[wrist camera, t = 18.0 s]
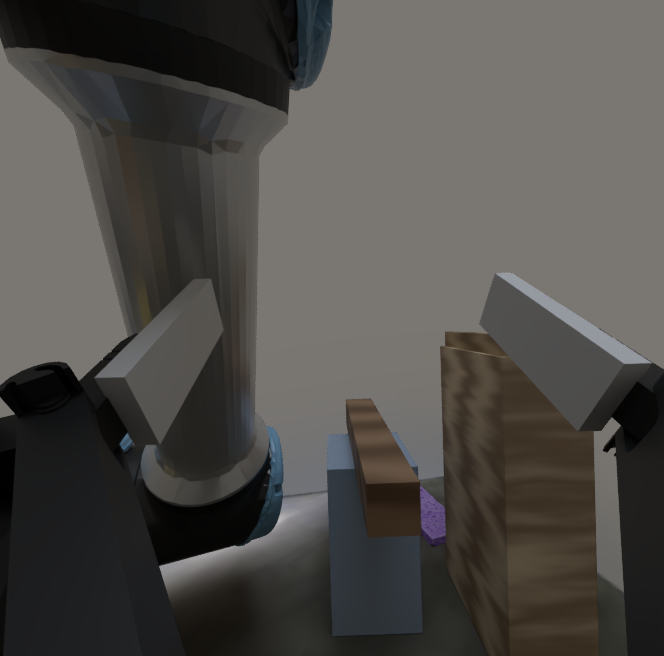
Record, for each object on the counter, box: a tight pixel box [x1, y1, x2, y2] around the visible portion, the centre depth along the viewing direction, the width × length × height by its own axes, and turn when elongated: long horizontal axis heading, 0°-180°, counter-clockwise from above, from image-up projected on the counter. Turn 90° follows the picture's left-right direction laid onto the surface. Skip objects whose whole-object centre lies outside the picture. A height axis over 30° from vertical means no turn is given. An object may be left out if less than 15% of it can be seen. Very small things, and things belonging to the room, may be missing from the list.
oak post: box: [440, 331, 599, 656], centre depth 32 cm, size 14×8×33 cm, turn 0°
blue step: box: [327, 432, 423, 636], centre depth 36 cm, size 10×10×18 cm
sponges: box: [420, 486, 446, 546], centre depth 50 cm, size 7×13×2 cm, turn 18°
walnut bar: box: [346, 399, 422, 538], centre depth 33 cm, size 24×4×4 cm, turn 1°
